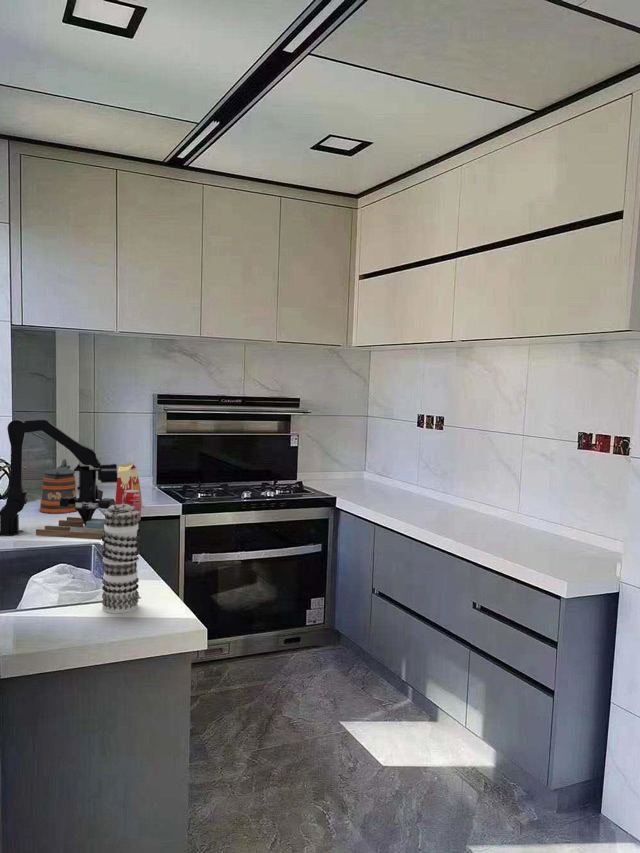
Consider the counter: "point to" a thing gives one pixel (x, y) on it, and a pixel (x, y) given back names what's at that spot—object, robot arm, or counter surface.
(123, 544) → the decorative candle
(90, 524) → the slate block
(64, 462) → the beer stein
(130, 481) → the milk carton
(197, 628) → the counter surface
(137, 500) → the soda can
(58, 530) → the brown bars
